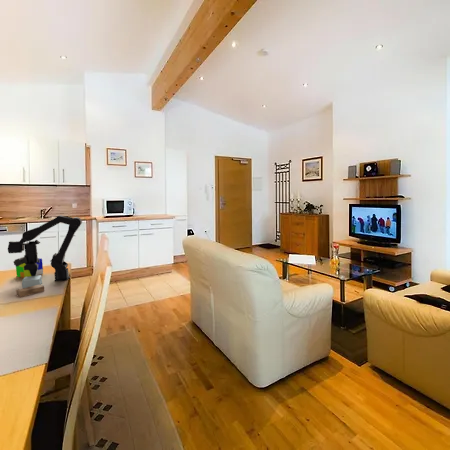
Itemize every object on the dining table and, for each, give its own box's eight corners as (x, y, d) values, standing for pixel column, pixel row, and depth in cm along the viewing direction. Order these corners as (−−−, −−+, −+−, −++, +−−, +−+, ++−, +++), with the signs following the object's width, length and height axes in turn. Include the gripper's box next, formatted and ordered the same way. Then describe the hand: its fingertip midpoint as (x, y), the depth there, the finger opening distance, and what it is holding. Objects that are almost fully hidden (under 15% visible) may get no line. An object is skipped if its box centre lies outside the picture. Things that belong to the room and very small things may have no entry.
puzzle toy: (43, 273, 183) (42, 258, 182) (28, 278, 174) (26, 262, 173) (32, 272, 187) (30, 257, 185) (16, 276, 177) (15, 261, 176)
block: (42, 283, 164) (41, 275, 164) (40, 288, 156) (39, 279, 156) (25, 285, 161) (24, 277, 160) (22, 290, 153) (21, 281, 152)
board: (40, 289, 154) (40, 284, 154) (44, 291, 151) (43, 286, 151) (16, 295, 145) (16, 290, 145) (20, 297, 142) (19, 292, 142)
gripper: (16, 250, 168) (18, 276, 169) (11, 256, 152) (14, 284, 153) (38, 248, 173) (40, 273, 175) (36, 254, 157) (38, 281, 159)
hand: (33, 278), depth 165 cm, fingers closed
